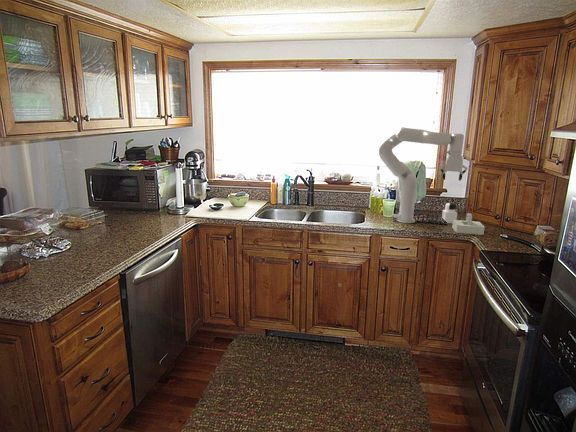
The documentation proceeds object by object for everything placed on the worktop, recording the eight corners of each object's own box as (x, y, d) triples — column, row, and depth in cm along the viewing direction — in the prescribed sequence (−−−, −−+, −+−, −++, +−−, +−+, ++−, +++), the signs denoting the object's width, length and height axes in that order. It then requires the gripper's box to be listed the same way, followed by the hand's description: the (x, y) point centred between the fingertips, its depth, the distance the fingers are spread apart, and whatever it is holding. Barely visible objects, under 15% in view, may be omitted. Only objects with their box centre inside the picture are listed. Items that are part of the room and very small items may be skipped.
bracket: (464, 232, 251) (466, 215, 248) (462, 229, 256) (464, 212, 254) (472, 232, 250) (475, 215, 247) (470, 230, 255) (472, 213, 253)
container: (452, 220, 277) (455, 202, 274) (456, 223, 269) (458, 205, 266) (441, 220, 278) (443, 202, 274) (444, 223, 270) (446, 204, 267)
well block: (456, 232, 248) (457, 225, 247) (452, 227, 261) (453, 219, 259) (483, 234, 245) (484, 227, 244) (478, 229, 258) (479, 221, 256)
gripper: (441, 153, 253) (438, 180, 257) (470, 154, 249) (467, 181, 254) (440, 152, 260) (436, 178, 264) (468, 153, 256) (464, 179, 261)
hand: (451, 179), depth 259 cm, fingers open, 9 cm apart
